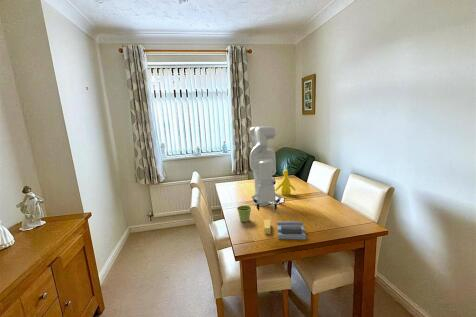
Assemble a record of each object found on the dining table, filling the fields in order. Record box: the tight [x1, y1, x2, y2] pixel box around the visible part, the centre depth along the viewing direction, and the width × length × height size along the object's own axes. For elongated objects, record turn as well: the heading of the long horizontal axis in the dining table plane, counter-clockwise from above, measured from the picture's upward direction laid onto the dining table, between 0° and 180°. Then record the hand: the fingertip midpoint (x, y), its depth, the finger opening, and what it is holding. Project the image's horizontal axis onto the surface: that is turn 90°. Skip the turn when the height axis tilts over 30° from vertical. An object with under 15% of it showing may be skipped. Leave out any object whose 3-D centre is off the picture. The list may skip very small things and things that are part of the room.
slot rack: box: [276, 221, 307, 240], centre depth 134 cm, size 16×15×2 cm
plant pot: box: [236, 204, 252, 223], centre depth 152 cm, size 9×9×9 cm
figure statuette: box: [275, 169, 297, 196], centre depth 195 cm, size 18×8×22 cm, turn 86°
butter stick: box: [263, 218, 272, 235], centre depth 139 cm, size 11×4×4 cm, turn 173°
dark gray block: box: [281, 226, 302, 234], centre depth 130 cm, size 11×4×4 cm, turn 83°
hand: (266, 210), depth 136 cm, fingers open, 9 cm apart
